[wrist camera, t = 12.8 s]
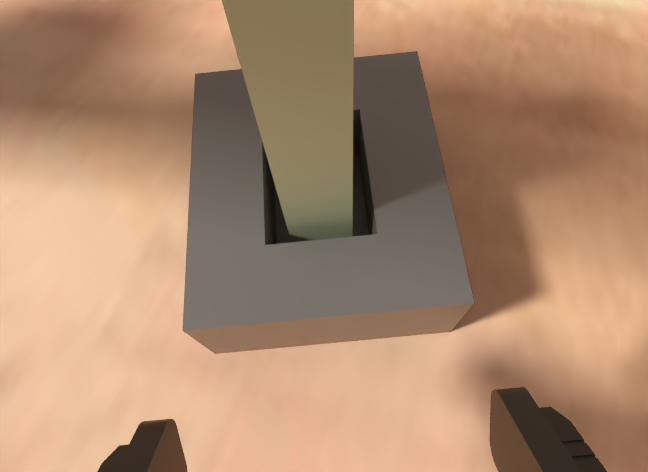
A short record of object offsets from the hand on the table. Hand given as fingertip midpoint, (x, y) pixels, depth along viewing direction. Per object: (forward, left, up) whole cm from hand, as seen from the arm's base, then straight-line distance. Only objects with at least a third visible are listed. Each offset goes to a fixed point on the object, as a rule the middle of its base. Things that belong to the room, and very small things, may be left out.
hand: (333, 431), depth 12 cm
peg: (-10, +6, -10) cm, 15 cm away
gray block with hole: (-10, +6, -11) cm, 16 cm away
